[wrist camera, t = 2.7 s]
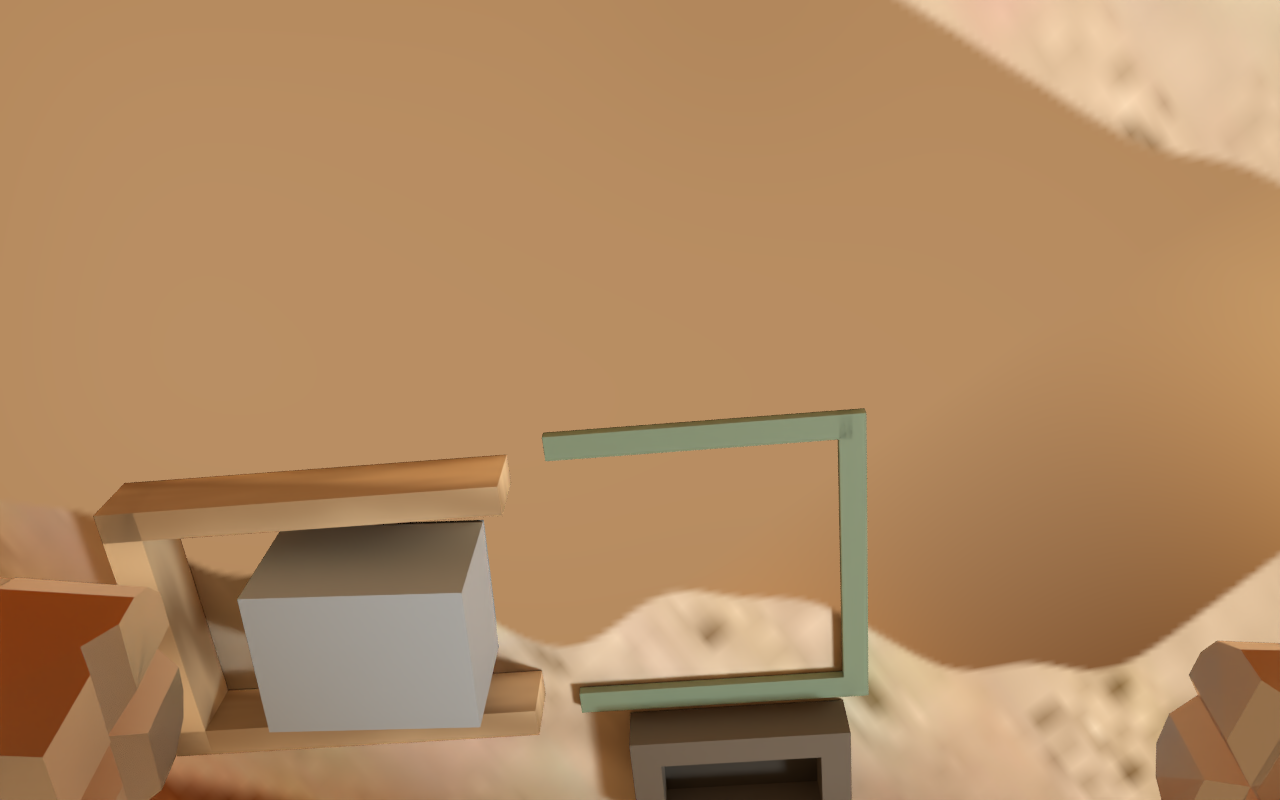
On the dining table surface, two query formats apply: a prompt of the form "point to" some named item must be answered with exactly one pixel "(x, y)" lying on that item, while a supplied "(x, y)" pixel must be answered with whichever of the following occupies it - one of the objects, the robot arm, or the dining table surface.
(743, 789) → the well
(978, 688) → the dining table surface
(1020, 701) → the dining table surface
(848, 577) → the frame
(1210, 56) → the dining table surface
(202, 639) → the beige c-shaped frame
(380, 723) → the block
